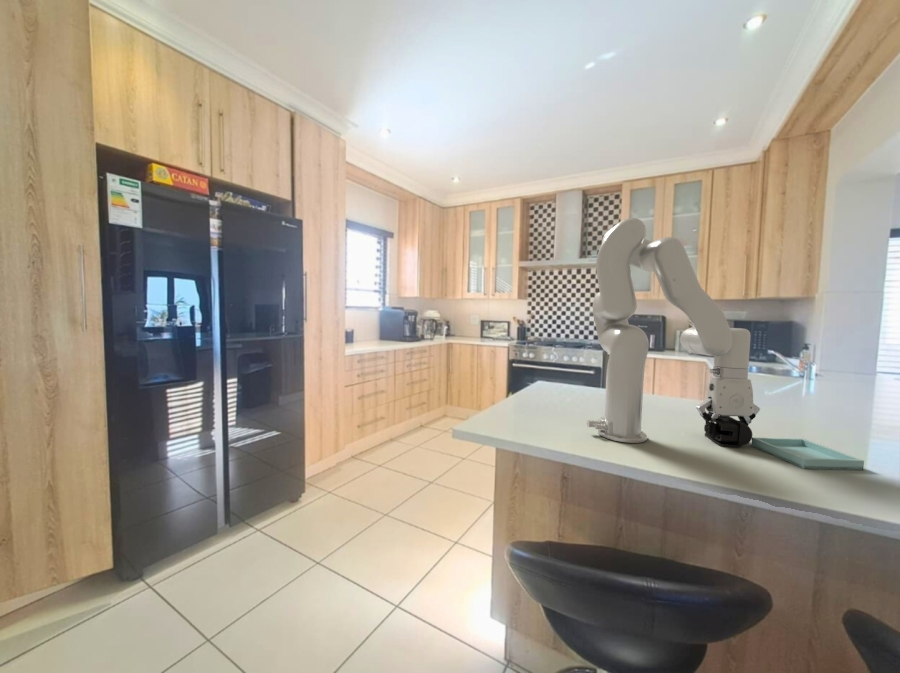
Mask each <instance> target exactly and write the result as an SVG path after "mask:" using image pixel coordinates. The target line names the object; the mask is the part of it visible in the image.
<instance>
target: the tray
mask: <svg viewBox="0 0 900 673" xmlns="http://www.w3.org/2000/svg"><path fill="white" fill-rule="evenodd" d="M751 446H752V447H754V448H756V449H758V450H760V451H762V452H765V453H768V454H769V455H772V456H774V457H777V458H778V459H780V460H783V461H785V462H788V463H789V464H792V465H794V466H796V467H799V468H801V469H804V470H840V471H843V470H846V471H849V470H851V471H864V467H865V460H863V459H861V458H858V457H855V456H852V455H849V454H847V453H844V452H841V451H838V450H835V449H833V448H831V447H830V448H829V447H827V446H824V445H822V444H819V443H816V442H813V441H810V440H807V439H806V438H794V437H793V438H791V437H788V438H786V437H752V439H751Z"/></svg>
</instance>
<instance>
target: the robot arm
mask: <svg viewBox="0 0 900 673" xmlns="http://www.w3.org/2000/svg"><path fill="white" fill-rule="evenodd" d="M646 234H647V228H646V225H645V223H644V222H643V221H642V220H641V219H639V218H636V217H630V218H629V217H628V218H626V219H622V220H620V221H619V222H618V223H617V224H615V225H614V226H613V227H611V228H610V229H609V230H608V231H607V232H606V233H605V234H604V235H603V237H602V241H601V245H600V247H599V248H598V249H599V250H598V253H597V256H596V262H595V263H596V264H595V267H596V268H595V269H596V276H597V285H598V289H599V292H597V293H596V295H595V296H594V299H593V300H592V315H593V318H594V324H595V329H596V334H597V337H598V342H599V344H600V346H601V348H602V349H603V351H604V352H606V353H607V354H609V356H608V360H607V365H606V372H605V374H606V376H605V395H604V396H605V397H604V400H605V401H604V416H601V417H600V419H597V420H592V419H591V420H589V419H588V420H586V426H587V428H594V429H595V430H597V433H598V435H600V436H601V437H603V438H605V439H608V440H611V441H615V442H621V443H625V444H626V443H628V444H638V443H644V442H646V441H647V440H648V435H647V433H645V431H642V421H643V420H642V419H643V417H642V416H643V399H644V379H645V378H644V377H645V367H646V362H647V357H648V352H649V344H650V342H649V338H648V335H647V333H646V332H645V331H644V330H643V329H642V328H640V327H639V326H637V325H634V324H630V323H629V319H630V318H632V316H633V315H634V314H635V313H636V311H637V308H638V307H637V306H638V304H637V297H636V293H635V288H634V284H633V279H632V274H631V266H633V267H635V268H637V269H640V270H643V271H647V272H651V273H652V272H654V274H655V276H656V278H657V281H658V283H659V286H660V289H661V291H662V293H663V296H664V299H666V300H667V301H668V302H669V303H670V304H671V305H672V306H675V307H676V308H677V309H679V310H680V311H682V312H683V313H684V314H685V316H687V317H688V319H689V320H690V322H691V323H692V324H693V326H692V327H691V326H690V327H689V328H687V329H685V330H684V331H683V332H682V333H681V334H680V337H679V342H680V345H681V346H682V347H683V349H684V350H686V351H688V352H690V353H693V354H697V355H703V356H709V357H713V368H710V369H709V373H710V374H712V376H710V379H709V382H708V384H707V385H708V387H707V389H706V396H705V397H706V398H705V400H704V401H702V402H700V403H699V404H697V405H696V406H695V407H696V408H695V409H696V410H697V411H698V414H699V415H700V416H701V417H702V418H703V420H704V421H705V424H704V426H705V431H704V432H705V433H706V435H708V436H710V437H712V438H715V437H716V427H717V424H716V422H715V421H716V419H717V418H718V417H719V416H730V417H737V418H738V421H740V422H742V423H744V424H746V425H747V426H748V427H749V425H750V424H752V421H753V420H754V419H755V418H756V415H757V414H759V412H760V410H761V408H760V407H759V406H758V405H756V404H755V403H754V391H753V390H754V389H753V383H752V380H751V379H750V378H749V377H748V376H749V364H750V347H751V338H752V337H751V332H750V330H748V329H747V328H740V327H730V325H729V323H728V321H727V318H726V315H725V313H724V312H723V311H722V309H721V307H720V306H719V305H718V304H717V303H716V302H715V300H713V298H711V296H710V294H708V293H707V292H706V291H705V290H704V289H703V287H702V286H701V284H700V283H699V280H698V277H697V275H696V272H695V270H694V268H693V264H692V263H691V260H690V258H689V256H688V253H687V251H686V248H685V246H684V244H683V243H682V241H681V240H680V239H679V238H676V237H673V236H672V237H671V236H668V237H662V238H659V239H656V240H654V241H653V240H649V239H646V236H647V235H646ZM705 433H704V434H705Z"/></svg>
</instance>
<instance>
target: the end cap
mask: <svg viewBox="0 0 900 673" xmlns="http://www.w3.org/2000/svg"><path fill="white" fill-rule="evenodd" d="M714 423H716V424H717V427H716V437H715V438H712V437H710V436H708V435H706V433H704V437H706V438H707V439H709V440H710V441H712V442H713V443H714V444H716V445H717V446H719V447H726V448H733V449H734V448H742V447H743V446H746V445H747V444H749V443H750V442H752V438H753V431H752V429H751V428H750V426H749V425H748V426H747V425H746V424H744V423H742V422H740V420H739V419H738V420H737V419H735V418H733V416H720V415H719V417H718V418H717V419H716V421H715V422H714ZM703 431H704V432H705V425H704V430H703Z"/></svg>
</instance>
